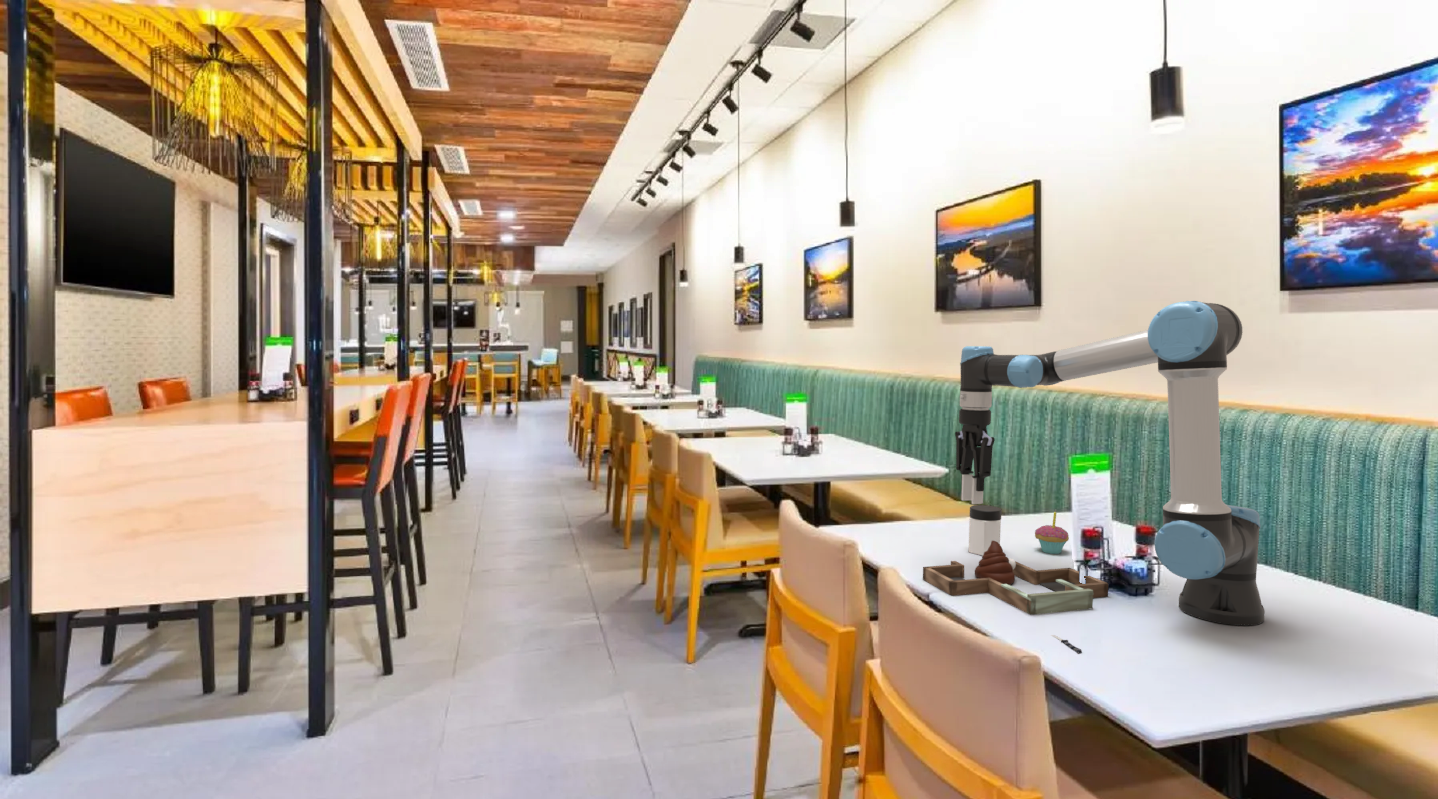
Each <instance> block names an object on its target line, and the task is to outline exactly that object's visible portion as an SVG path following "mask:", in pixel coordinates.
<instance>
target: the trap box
mask: <svg viewBox="0 0 1438 799" xmlns="http://www.w3.org/2000/svg"><path fill="white" fill-rule="evenodd" d="M1007 558H1008V557H1007ZM1008 559H1010V558H1008ZM1014 561H1015V562H1016V566H1015V568H1014V569H1013V573H1014V575H1015V577H1017V578H1019V579H1021V580H1024V581H1026V582H1027V583H1030V584H1032V585H1033V586H1042V587H1043V588H1047V589H1049V590H1051V591H1049V592H1048V591H1047V592H1040V593H1036V592H1035V593H1026V592H1024V591H1021V590H1020V589H1019V588H1016V587H1014V586H1013V585H1011V584H1010V585H1008V584H1002V583H1000V582H998V581H995V580H993V579H991V578H971V579H969V578H968V579H965V565H964V564H963V563H960V562H959V561H957V560H951V561H950V564H946V565H932V566H923V567H922V580H923V581H925V582H926V583H929V584H930V585H931V586H934V587H935V588H936V589H939V590H940V591H943V592H945V593H946V594H948V595H949V596H951V597H952V596H953V597H954V596H955V597H956V596H963V595H975V594H976V595H977V594H986V593H987V594H990V596H994V597H996V598H997V599H999V600H1001V601H1002V602H1004V603H1007V604H1008V605H1011V606H1013V607H1015V608H1017V609H1018V610H1020V611H1022V612H1023V613H1026V614H1028V615H1030V616H1032V615H1033V616H1034V615H1045V614H1053V613H1062V612H1073V611H1082V610H1091V609H1092V610H1093V603H1094V601H1093V600H1094V599H1096V598H1106V597H1107V598H1108V597H1109V585H1110V584H1109V583H1108V582H1106V581H1103V580H1101V579H1099V578H1096V577H1094V576H1091V575H1089V576H1084V578H1086V579H1085V580H1086V584H1082V583H1080V582H1079V572H1080V571H1079V570H1076V569H1073V568H1072V567H1065V568H1064V567H1062V568H1051V569H1041V570H1039V569H1037V570H1036V569H1035V568H1031V567H1029V566H1027V565H1026V564H1025V565H1024V564H1022V563H1020V562H1018V561H1016V560H1014Z"/></svg>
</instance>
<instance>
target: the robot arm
mask: <svg viewBox="0 0 1438 799" xmlns="http://www.w3.org/2000/svg"><path fill="white" fill-rule="evenodd" d="M1243 332H1244V331H1243V325H1242V321H1241V319H1240V317H1239V315H1237V313H1236V312H1235V311H1233V310H1232V309H1231V308H1230V307H1227V306H1225V305H1223V304H1220V303H1213V302H1204V301H1203V302H1201V301H1198V300H1186V301H1179V302H1173V303H1171V304H1169V305H1166V306H1165V307H1163V308H1162V309H1161V310H1159V311H1158V312H1157V313H1156V314H1154V316H1153V318H1152V319H1151V321H1150V323H1149V326H1148V329H1145V330H1142V331H1141V330H1140V331H1137V332H1133V333H1128V334H1124V335H1119V336H1115V337H1111V338H1107V339H1103V340H1098V341H1093V342H1089V343H1085V344H1080V345H1077V346H1072V347H1068V348H1064V349H1061V350H1060V349H1059V350H1056V351H1051V352H1046V353H1042V354H995V352H994V348H993V347H992V346H990V345H989V346H986V345H985V346H984V345H983V346H977V345H976V346H975V345H974V346H973V345H971V346H969V345H966V346H964V347H963V348H962V350H961V358H960V362H959V366H960V387H959V406H960V407H961V408H960V409H959V410H958V411H959V412H958V423H959V424H961V425H962V427H961V430H960V431H955V433H954V435H955V437H954V438H955V440H956V441H955V445H956V446H955V447H956V448H955V449H956V450H955V452H956V453H955V454H956V455H955V459H956V460H955V461H956V462H955V469H956V471H959V473H960V474H961V482H960V483H961V498H960V500H961V501H962V502H964V501H971V505H984V490H985V479H986V478H987V477H991V475H992V461H993V449H994V448H993V446H994V443H995V436H989V435H988V430H987V426H989V425H991V423H992V420H991V419H992V411H991V409H990V408H992V406H993V405H992V403H993V402H992V401H993V400H992V398H993V386H994V387H995V386H1000V387H1009V388H1010V387H1013V388H1020V389H1022V388H1025V389H1026V388H1034V387H1036V386H1053V385H1056V384H1059V383H1061V382H1065V381H1071V380H1075V379H1080V378H1086V377H1091V376H1096V375H1101V374H1106V373H1112V372H1116V371H1121V370H1128V369H1132V368H1136V367H1141V366H1142V367H1143V366H1146V365H1152V364H1157V371H1158V373H1159V374H1161V376H1163V378H1165V380H1166V382H1167V408H1168V409H1167V410H1168V416H1167V417H1168V435H1169V436H1168V438H1169V439H1168V443H1169V446H1168V447H1169V470H1170V472H1169V474H1170V476H1169V477H1170V499H1169V501H1167V502H1166V503H1165V504H1164V505H1163V506H1162V527H1161V528H1159V530H1158V531H1157V532H1156V535H1155V537H1154V551H1155V554H1156V556H1157V558H1158V560H1159V562H1160V563H1161V564H1162V566H1164V567H1165V568H1166V569H1167V570H1168V571H1169V572H1170V573H1172V574H1173V575H1175V576H1178V577H1180V578H1182V579H1186V580H1185V582H1184V586H1183V588H1182V591H1181V592H1180V593H1179V596H1178V608H1179V610H1181V611H1182V612H1184V613H1185V614H1188V615H1190V616H1192V617H1195V618H1197V619H1201V620H1205V621H1208V622H1212V623H1213V622H1214V623H1217V624H1223V625H1230V626H1231V625H1233V626H1256V625H1260V624H1263V623H1264V621H1265V608H1264V605H1263V604H1262V599H1261V596H1260V591H1259V588H1258V584H1257V571H1258V556H1259V554H1258V553H1259V537H1260V529H1261V523H1260V520H1261V519H1260V513H1259V512H1258V511H1257V510H1255V509H1253V508H1248V507H1243V506H1237V505H1233V504H1230V505H1229V504H1226V503H1225V502H1224V501H1223V498H1222V467H1221V466H1222V465H1221V462H1222V461H1221V435H1220V433H1221V432H1220V431H1221V430H1220V429H1221V428H1220V406H1219V405H1220V404H1219V403H1220V402H1219V401H1220V399H1219V378H1220V376H1221V375H1222V374H1223V373H1224V372H1226V371H1227V369H1228V360H1227V356H1228V355H1229V354H1230V353H1232V352H1233V351H1234V350H1235V349H1236V348H1237V347H1238V346H1239V344H1240V343H1241V340H1242V337H1243ZM972 468H973V469H974V471H973V469H972Z"/></svg>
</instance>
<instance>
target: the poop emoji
mask: <svg viewBox="0 0 1438 799" xmlns="http://www.w3.org/2000/svg"><path fill="white" fill-rule="evenodd" d="M1003 550H1004V549H1003V548H1002V546H1001V543H1000V544H999V543H998V542H996V541H991V545H990V547H989V548H988V550H987V551H986V552H984V555H983V556H982V555H981V559H980V560H979V561H978V565H977V566H976V567H975V569H974V576H975V578H976V579H979V578H991V579H993V580H995V581H998V582H1000V583H1002V584H1008V585H1010V586H1011V585H1012V584H1014V582H1015V580H1016V576H1015V575H1014V573H1013V569H1014V568H1015V566H1016V562H1017V561H1016V560H1015V559H1013V558H1012V557H1010V558H1009V559H1008V557H1007V554H1006V553H1005V552H1004V551H1003ZM1015 561H1016V562H1015Z"/></svg>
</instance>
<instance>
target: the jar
mask: <svg viewBox="0 0 1438 799" xmlns="http://www.w3.org/2000/svg"><path fill="white" fill-rule="evenodd" d="M1002 514H1003V513H1002V508H1000V507H999V506H998V507H997V506H994V505H984V504H973V505H971V506H969V520H968V521H969V522H968V523H969V528H968V553H971V554H974V555H978V556H981V557H982V556H983V555H984V552H986V551H987V550H988V548H989V547H990V545H991V541H996V542H998V543H999V544H1000V545H1001V527H1002V526H1001V525H1002Z"/></svg>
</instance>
